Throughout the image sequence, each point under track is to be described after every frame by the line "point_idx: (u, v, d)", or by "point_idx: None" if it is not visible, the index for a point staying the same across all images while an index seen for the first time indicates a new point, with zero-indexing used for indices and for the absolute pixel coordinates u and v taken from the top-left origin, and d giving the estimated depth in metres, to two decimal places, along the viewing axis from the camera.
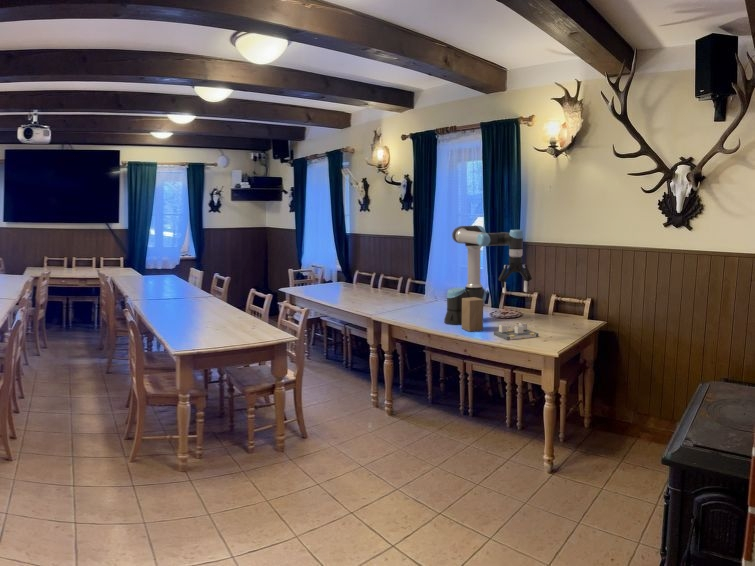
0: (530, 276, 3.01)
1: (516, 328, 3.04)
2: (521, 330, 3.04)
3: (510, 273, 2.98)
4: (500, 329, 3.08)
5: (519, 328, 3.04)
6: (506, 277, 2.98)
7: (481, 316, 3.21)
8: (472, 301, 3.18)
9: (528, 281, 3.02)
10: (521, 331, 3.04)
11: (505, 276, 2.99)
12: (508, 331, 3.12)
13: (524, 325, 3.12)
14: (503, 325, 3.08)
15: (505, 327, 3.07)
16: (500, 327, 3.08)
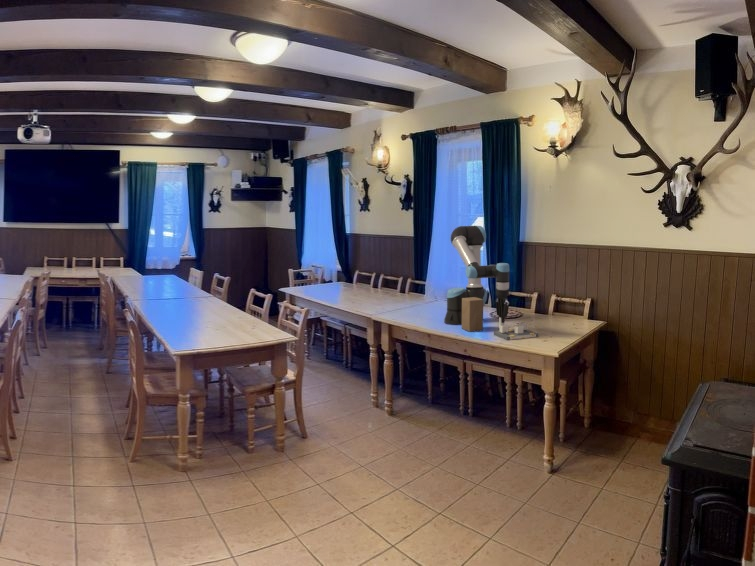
0: (503, 314, 3.05)
1: (516, 328, 3.04)
2: (521, 330, 3.04)
3: (499, 306, 3.09)
4: (501, 329, 3.07)
5: (519, 328, 3.04)
6: (499, 311, 3.10)
7: (481, 316, 3.21)
8: (472, 301, 3.18)
9: (502, 318, 3.07)
10: (521, 331, 3.04)
11: None
12: (508, 331, 3.12)
13: (524, 325, 3.12)
14: (504, 325, 3.07)
15: (506, 327, 3.07)
16: (501, 327, 3.07)
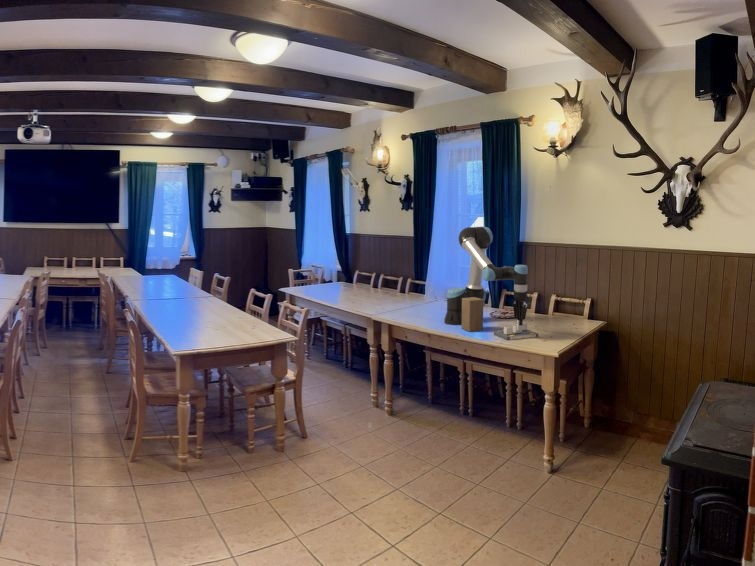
0: (521, 316, 3.00)
1: (514, 327, 3.06)
2: None
3: (517, 308, 3.04)
4: (505, 331, 3.03)
5: None
6: (516, 313, 3.05)
7: (481, 316, 3.21)
8: (472, 301, 3.18)
9: (520, 320, 3.02)
10: None
11: None
12: None
13: (524, 325, 3.12)
14: (508, 327, 3.03)
15: (510, 329, 3.03)
16: (505, 329, 3.03)
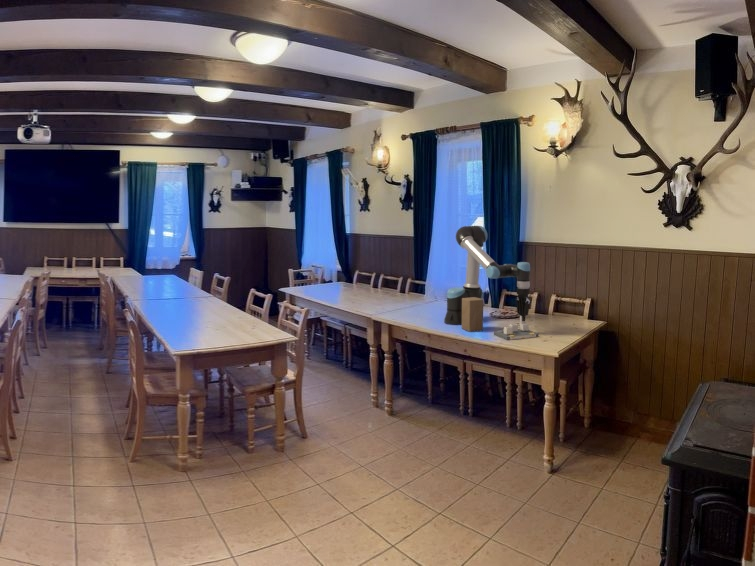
0: (524, 312, 3.09)
1: (511, 326, 3.09)
2: (516, 328, 3.09)
3: (520, 304, 3.13)
4: (505, 331, 3.03)
5: (514, 326, 3.09)
6: (519, 309, 3.13)
7: (481, 316, 3.21)
8: (472, 301, 3.18)
9: (523, 316, 3.11)
10: (516, 329, 3.10)
11: None
12: None
13: (526, 326, 3.10)
14: (508, 327, 3.03)
15: (510, 329, 3.03)
16: (505, 329, 3.03)
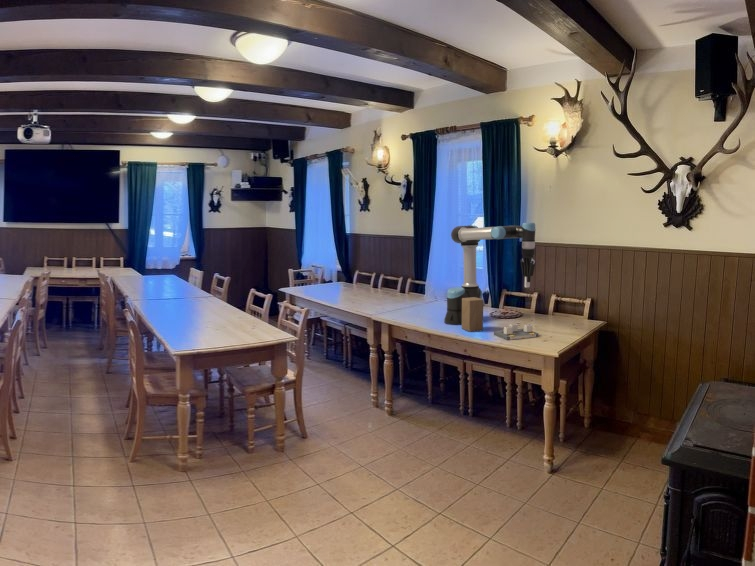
0: (529, 273, 3.07)
1: (511, 326, 3.09)
2: (516, 328, 3.09)
3: (525, 265, 3.10)
4: (505, 331, 3.03)
5: (514, 326, 3.09)
6: (524, 271, 3.11)
7: (481, 316, 3.21)
8: (472, 301, 3.18)
9: (528, 277, 3.09)
10: (516, 329, 3.10)
11: None
12: None
13: (529, 327, 3.07)
14: (508, 327, 3.03)
15: (510, 329, 3.03)
16: (505, 329, 3.03)
